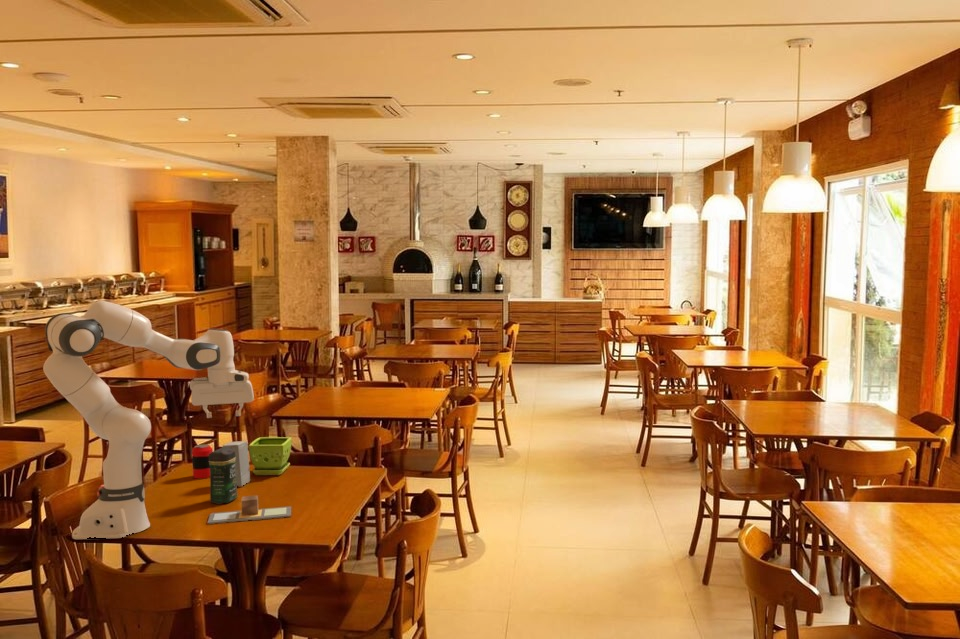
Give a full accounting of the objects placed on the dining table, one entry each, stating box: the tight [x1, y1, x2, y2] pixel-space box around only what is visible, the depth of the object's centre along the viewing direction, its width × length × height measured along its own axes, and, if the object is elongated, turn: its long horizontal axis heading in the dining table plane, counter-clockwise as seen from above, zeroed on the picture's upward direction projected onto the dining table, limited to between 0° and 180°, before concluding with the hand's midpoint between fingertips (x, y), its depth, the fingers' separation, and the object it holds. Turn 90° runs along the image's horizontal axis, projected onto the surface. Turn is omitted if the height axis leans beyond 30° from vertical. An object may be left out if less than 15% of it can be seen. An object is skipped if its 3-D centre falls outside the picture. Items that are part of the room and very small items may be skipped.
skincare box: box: [222, 440, 251, 488], centre depth 315 cm, size 8×7×16 cm
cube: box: [240, 494, 260, 516], centre depth 277 cm, size 5×5×5 cm
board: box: [206, 505, 292, 525], centre depth 276 cm, size 26×10×1 cm, turn 102°
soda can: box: [191, 444, 213, 480], centre depth 328 cm, size 8×8×12 cm
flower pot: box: [248, 436, 293, 476], centre depth 331 cm, size 14×14×13 cm
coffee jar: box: [209, 446, 238, 505], centre depth 294 cm, size 10×8×19 cm
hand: (223, 416), depth 285 cm, fingers open, 8 cm apart
